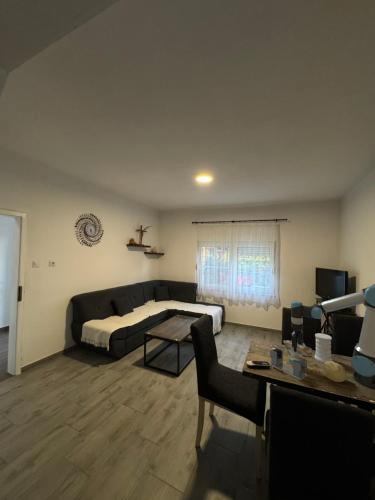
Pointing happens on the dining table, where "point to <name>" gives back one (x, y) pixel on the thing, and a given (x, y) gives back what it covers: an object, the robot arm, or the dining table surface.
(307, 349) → the rail
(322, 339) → the decorative container
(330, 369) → the pale yellow round lump
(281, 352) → the bracket stand
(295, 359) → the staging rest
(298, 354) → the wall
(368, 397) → the dining table surface
